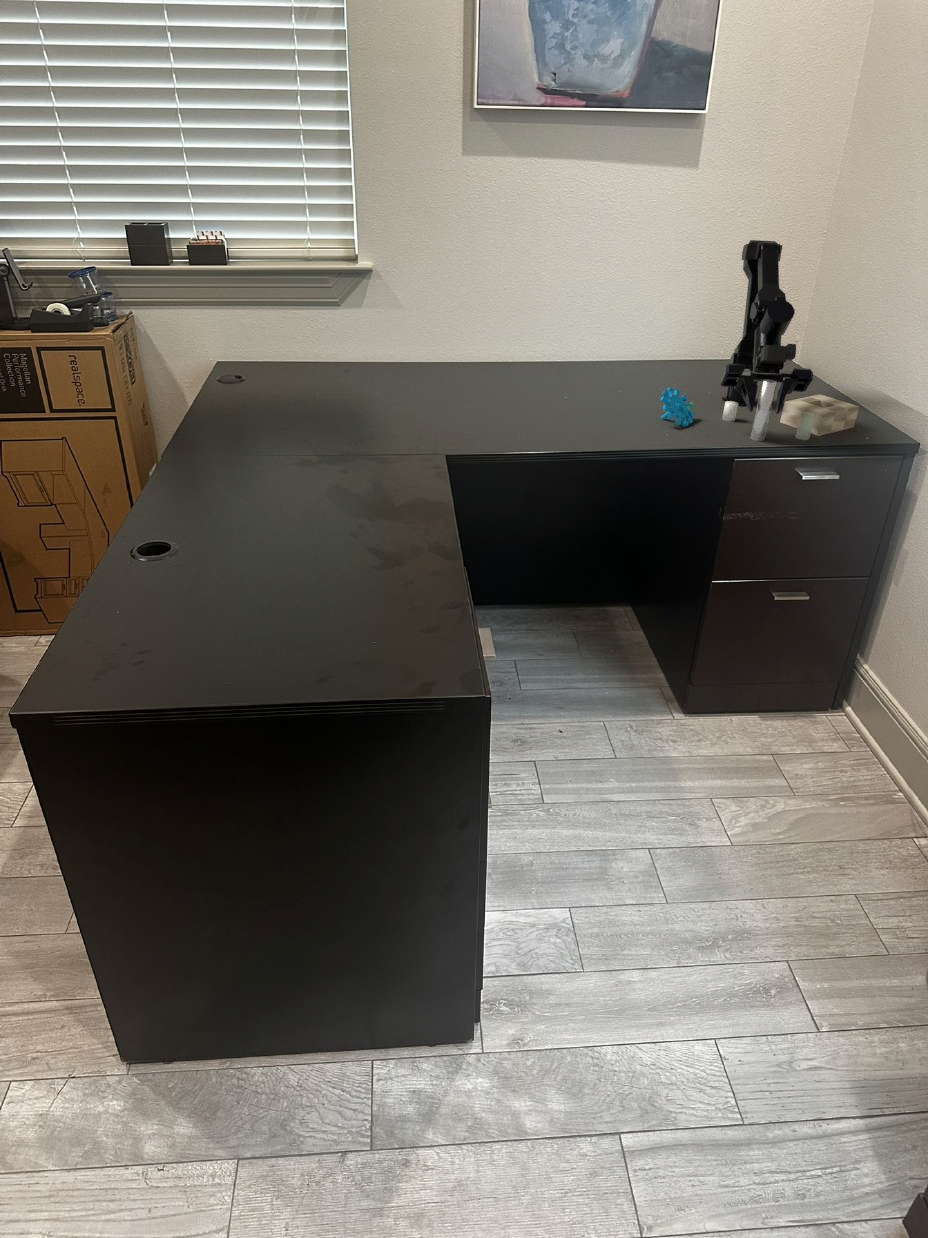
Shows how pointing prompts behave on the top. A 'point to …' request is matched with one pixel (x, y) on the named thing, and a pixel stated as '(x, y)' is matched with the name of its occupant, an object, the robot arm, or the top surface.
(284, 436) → the top surface
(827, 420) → the hole block
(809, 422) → the mid pin
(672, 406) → the blue spiky toy
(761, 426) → the long pin
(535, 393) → the top surface
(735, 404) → the short pin
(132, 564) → the top surface
